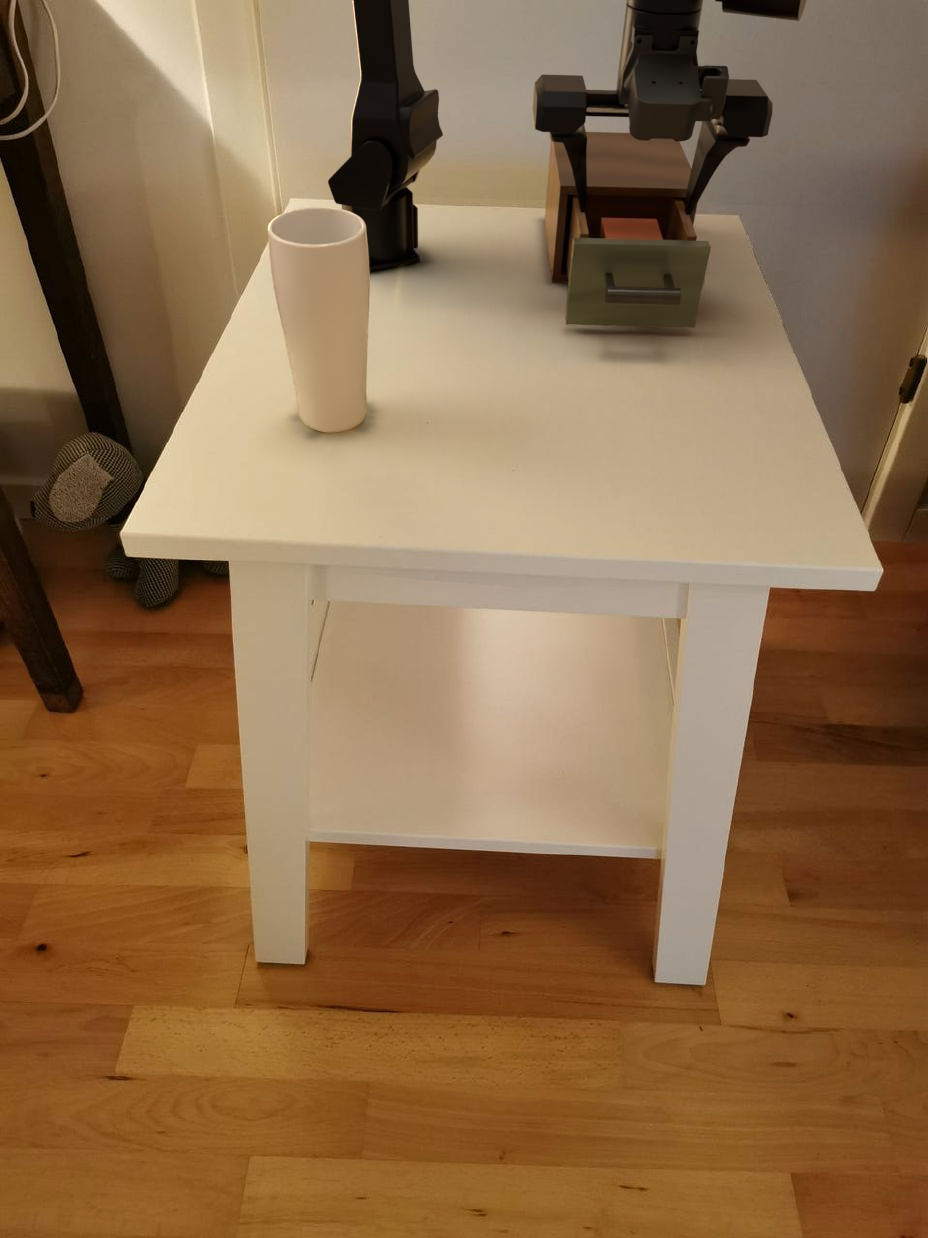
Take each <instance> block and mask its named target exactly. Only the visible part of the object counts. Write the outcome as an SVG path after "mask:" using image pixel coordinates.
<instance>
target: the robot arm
mask: <svg viewBox="0 0 928 1238" xmlns="http://www.w3.org/2000/svg"><path fill="white" fill-rule="evenodd" d="M714 1H715V2H718V3H721V12H722V13H726V14H733V15H734V14H735V15H742V16H751V17H760V18H769V19H778V20H787V21H795V22H800V21H801V18H802V16H803V13H804V10H805V8H806V4H807V1H808V0H714ZM703 4H704V0H626V4H625V11H624V12H625V13H624V19H623V20H624V21H623V29H622V37H621V46H620V55H619V64H618V71H617V72H618V73H617V81H616V89H614V90H613V89H612V90H611V89H587V87H586V83H585V79H584V76H583V75H579V74H578V75H577V74H575V75H573V74H541V75H540V76H539V77H538V78H537V80H536V81H535V82H534V86H533V97H532V98H533V99H532V100H533V101H532V116H533V122H534V130H536V131H539V132H542V133H549V139H550V141H551V140H552V141H554V142H561V143H563V145H564V147H565V150H566V152H567V155H568V158H569V161H570V164H571V167H572V171H573V176H574V181H575V186H576V192H577V197H578V202H579V207H580V212H581V213H584V212H585V208H586V201H587V163H586V150H587V135H586V132H587V131H586V126H585V124H586V121H587V120H586V118H587V117H604V118H605V117H606V118H628V121H629V125H628V126H629V127H628V129H629V133H630V134H631V135H632V136H633V137H634V138H635V139H638V140H643V141H649V140H650V139H653V138H654V139H673V140H674V141H680V142H686V141H688V140H690V139H691V138H692V137H693V134H694V129H695V127H696V122H701V125H700V129H699V134H698V138H697V143H696V147H695V152H694V156H693V160H692V166H691V174H690V178H689V182H688V187H687V192H686V201H685V213H686V215H691V213H692V212H693V210H694V208H695V206H696V204H697V205H698V203H697V202H699V201H700V199H701V197H702V195H703V193H704V191H705V190H706V188H707V186H708V184H709V182H710V181H711V178H712V177H713V175H714V173H715V172H716V170H717V169H718V168H719V166H721V164H722V162H723V161H724V159H725V158H726V157H727V156H728V155H729V154H730V153H731V152H732V151H734V150H735V149H736V148H744V147H747V146H748V145H749V143H750V141H751V139H750V138H764V137H767V136H768V135H769V131H770V126H771V122H772V118H773V105H774V104H773V102H772V100H771V99H770V98H769V96H768V94H767V93H766V91H765V89H763V87H762V86H761V84H760V83H759V81H758V79H741V78H740V79H739V78H738V79H737V78H730V74H729V69H728V68H729V67H728V66H727V65H708V64H707V65H699V60H698V54H697V53H698V52H697V50H698V47H699V46H698V45H699V34H700V30H699V28H700V22H701V17H702V9H703ZM352 9H353V18H354V27H355V35H356V46H357V55H358V63H359V64H358V65H359V73H360V75H359V77H360V78H359V85H358V88H357V92H356V97H355V100H354V105H353V109H352V113H351V118H350V119H351V120H350V121H351V123H350V129H351V130H350V157H348V159H347V160H345V162H344V163H343V164H342V165H341V166H340V167H339V168H338V169H337V170H336V171H335V172H334V174H332V175H331V176H330V177H329V178H328V180H327V183H328V187H329V190H330V192H331V195H332V198H333V201H334V203H335V204H336V205H341V209H342V210H346V211H349V212H352V213H354V214H356V215H358V216H359V217H361V218H362V219H363V220H364V222H365V224H366V231H367V241H368V251H369V268H370V272H371V271H376V270H383V269H387V268H394V267H400V266H405V265H410V264H411V265H412V264H416V263H420V262H421V255H420V254H419V253H418V252H417V249H418V247H419V208H418V207H417V206H416V204H414V193H413V191H411V190H410V188H408V187H409V186H410V185H411V184H413V183H415V182H416V181H417V180H418V177H419V174H420V171H421V169H423V168H424V167H425V166H427V164H428V163H429V162H430V160H431V159H433V157H434V155H435V153H436V150H437V143H438V140H440V139H441V138H443V136H444V134H443V131H442V128H441V125H440V120H439V105H440V94H439V90H438V89H436V88H434V89H429V90H425V89H424V87H423V85H422V83H421V81H420V79H419V77H418V75H417V73H416V70H415V65H414V54H413V53H414V52H413V41H412V40H413V39H412V28H411V26H412V25H411V14H410V0H352Z"/></svg>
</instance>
